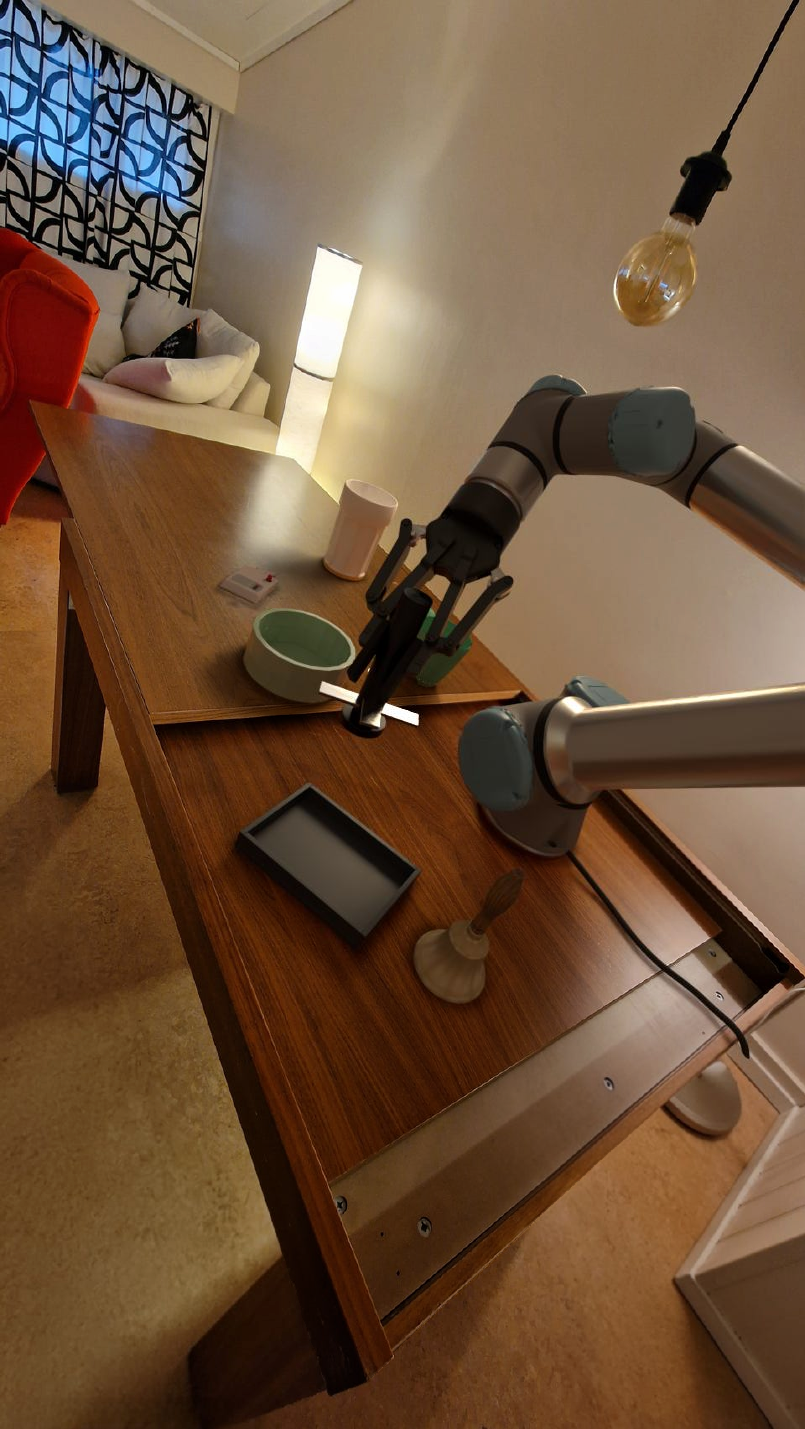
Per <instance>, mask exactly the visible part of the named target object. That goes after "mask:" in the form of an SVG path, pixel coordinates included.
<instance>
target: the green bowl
mask: <svg viewBox="0 0 805 1429" xmlns="http://www.w3.org/2000/svg"><path fill="white" fill-rule="evenodd" d="M355 658H356V647H355V646H354V643H353V641H352V639H351V638H350V637H349V636H348V634H346V633H345V632H344V631H343V630H342V629H341V628H340V627H338V626H337V625H335V624H334V623H333V622H331V621H329V620H327V619H325V618H324V617H321V616H319V615H317V614H314V613H313V612H312V613H311V612H309V611H305V610H302V609H296V608H290V607H274V608H269V609H266V610H263V611H261V612H259V614H257V616H255V617H254V619H253V623H252V625H251V629H250V633H249V636H248V639H247V642H246V647H245V650H244V654H243V657H242V661H243V665H244V667H245V670H246V671H247V673H248V675H249V676H250V677H251V678H252V679H253V681H255V682H256V683H257V684H259V686H261V687H262V688H264V689H265V690H267V691H269V692H271V693H272V694H275V695H276V696H279V697H281V698H284V699H287V700H290V701H295V702H299V703H309V704H311V703H312V704H316V703H317V704H318V703H323V702H327V701H330V700H332V699H331V698H328V697H325V696H322V695H319V694H318V692H319V689H320V685H321V682H322V681H323V682H326V683H328V684H331V685H334V686H337V687H340V688H343V689H344V686H345V683H346V681H347V679H348V674H347V670H348V668H349V667H350V665H351V664H352V663H353V661H354V660H355ZM295 699H296V700H295ZM325 699H329V700H325ZM300 700H301V701H300ZM321 700H324V701H321ZM310 701H318V702H310Z"/></svg>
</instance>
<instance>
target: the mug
mask: <svg viewBox="0 0 805 1429" xmlns="http://www.w3.org/2000/svg"><path fill="white" fill-rule="evenodd" d="M435 615H436V613H435V611H434V610H433V609H432V607H431V608H430V610H429V613H428V615H427V617H426V619H425V621H424V623H423V625H422V627H421V630H420V632H419V634H418V636H417V638H419V639H421V640H422V641H424V639H425V634H427V632H428V630H429V628H430V626H431V623H432V621H433V619H434V617H435ZM456 626H457V624H456V623H454V622H453V621H451V620H449V622H448V624H447V627H446V629H445V631H444V633H443V635H442V637H445V638H447V637H448V635H449V634H450V633H451V632H452V631H453V629H454V628H455V627H456ZM472 646H473V640H472V638H471V636H470V635H469V636H468V638H467V639H466V640H465V641H464V643H463V644H462V645H461V646H460V648H459V649H458V650H457V652H456V653H455V654H454V655H453V656H451V657H447V656H445V655H444V654H440V653H435V654H433V655H431V657H430V658H429V660H428V661H427V663H426V664H425V666H424V667H423V669H422V670H421V672H420V673H419V675H418V676H416V677H415V678H414V679H416V683H417V684H418V685H420V686H423V687H426V688H432V687H435V686H436V685H437V684H438V683H440V682H441V681H442V680H443V679H445V677H446V676H447V675H449V674H450V673H451V672H452V671H453V670H454V669H455V668H456V666H458V664H459V663H460V662H461V661H462V659H464V657H465V656H466V655H467V654H468V653H469V651H470V650H471V648H472ZM419 679H420V680H419ZM423 681H424V682H423ZM425 682H426V683H425ZM429 683H430V684H429ZM435 683H436V684H435Z"/></svg>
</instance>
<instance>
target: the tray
mask: <svg viewBox="0 0 805 1429" xmlns="http://www.w3.org/2000/svg"><path fill="white" fill-rule="evenodd" d="M233 847H234V848H235V849H236V850H237V851H238V852H240V854H241V855H243V856H244V857H245V858H247V860H249V861H250V862H251V863H252V864H254V865H255V866H256V867H257V868H258V869H259V870H261V871H262V872H263V873H264V874H265V875H266V876H268V877H269V878H270V879H271V880H273V882H275V883H276V884H277V885H278V886H279V887H280V888H282V889H283V890H284V891H285V892H287V894H289V895H290V896H291V897H292V898H294V899H295V900H296V901H297V902H298V903H299V904H301V905H302V906H303V907H304V908H306V909H307V910H308V911H309V912H310V913H311V914H312V915H314V916H315V917H316V918H317V919H318V920H320V921H321V922H322V923H323V924H324V925H325V926H326V927H327V928H328V929H330V930H331V931H332V932H333V933H335V934H336V935H337V936H338V937H340V939H342V940H343V941H345V943H346V944H347V945H349V946H350V947H351V948H352V949H354V951H356V952H357V951H359V950H360V949H361V947H362V946H363V945H364V943H366V941H367V940H368V939H369V937H370V936H371V935H372V934H373V933H374V932H375V930H376V929H377V928H378V926H379V925H380V924H381V923H382V922H383V921H384V919H386V917H387V916H388V914H390V912H391V911H392V910H393V909H394V907H395V906H396V905H397V904H398V903H399V902H400V900H401V899H402V898H403V897H404V896H405V894H406V893H407V892H408V891H409V890H410V888H411V887H412V886H413V885H414V884H415V882H416V880H417V879H418V877H419V876H420V874H421V873H422V869H421V868H419V867H418V866H417V865H415V864H414V863H413V862H412V861H411V860H409V859H408V858H407V857H406V856H404V855H403V854H402V853H400V852H399V851H398V850H397V849H396V848H394V847H393V846H392V845H390V844H389V843H388V842H386V840H384V839H383V838H382V837H381V836H379V835H377V833H376V832H374V831H372V830H371V829H370V828H368V827H367V826H366V825H365V824H364V823H362V822H361V821H359V820H358V819H357V818H356V817H355V816H354V815H352V814H351V813H350V812H348V811H347V809H346V810H345V808H343V807H342V806H341V805H340V804H338V803H337V802H336V801H335V800H333V799H332V798H330V797H329V796H328V795H326V794H325V793H324V792H323V791H322V790H321V789H319V788H318V787H316V786H315V785H314V784H313V783H311V781H308V782H307V783H305V784H303V785H302V786H301V787H300V788H298V789H296V790H295V791H294V792H293V793H291V794H290V795H288V796H287V797H286V798H284V799H283V800H282V801H280V802H278V803H277V804H276V805H274V806H273V807H272V808H270V809H269V810H268V811H266V812H265V813H263V814H262V815H260V816H259V817H257V818H256V819H254V820H253V821H252V822H251V823H249V824H248V825H247V826H245V827H244V828H242V829H241V830H239V832H238V835H237V838H236V841H235V843H234V845H233Z"/></svg>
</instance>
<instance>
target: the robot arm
mask: <svg viewBox="0 0 805 1429" xmlns="http://www.w3.org/2000/svg"><path fill="white" fill-rule="evenodd" d="M480 456H481V457H480V458H479V459H478V461H476V463H475V464H474V465H473V467H472V468H471V470H470V471H469V473H468V474H467V476H466V477H465V479H464V481H463V483H462V484H461V485H460V486H459V487H458V489H457V490H456V492H455V493H454V494H453V496H452V497H451V499H450V500H449V502H448V503H447V504H446V506H445V507H444V508H443V510H442V511H441V513H440V514H439V516H438V517H436V518H435V519H434V520H431V521H429V522H428V524H426V525H425V524H424V525H423V524H414V523H413V521H412V520H411V519H410V518H409V517H405V518H403V519H402V520H400V522H399V523H400V524H399V530H398V537H397V539H396V541H395V543H394V544H393V546H392V547H391V549H390V550H389V553H388V554H387V556H386V558H385V559H384V561H383V562H382V564H381V567H380V568H379V570H378V571H377V573H376V575H375V577H374V578H373V580H372V582H371V583H370V585H369V587H368V589H367V590H366V592H365V594H364V596H365V598H364V599H365V604H366V608H367V610H368V611H370V612H371V613H372V614H373V615H372V617H371V618H370V620H369V621H368V622H367V624H365V627H364V628H363V629H362V630H361V632H360V634H359V636H358V640H357V642H358V645H359V647H361V649H360V651H359V652H358V654H357V655H356V656H355V660H354V661H353V663H352V664H351V665H350V667H349V668H348V670H347V674H348V676H347V679H348V681H350V682H352V683H354V684H357V682H358V681H359V679H360V678H361V676H362V675H363V674H364V673H365V671H366V669H368V666H369V665H370V663H372V661H373V660H374V657H375V655H376V653H377V651H378V648H379V646H380V644H381V641H382V639H383V637H384V634H385V632H386V630H387V627H388V625H389V623H390V621H391V618H392V616H393V614H394V611H395V609H396V607H397V604H398V602H399V600H400V597H401V595H402V593H403V591H404V589H405V588H415V589H418V590H422V589H423V587H424V586H425V585H426V584H427V583H428V582H431V581H432V580H433V579H434V578H435V577H436V576H440V577H443V578H445V579H446V580H447V581H448V582H449V585H448V586H447V589H446V591H445V594H444V595H443V597H442V600H441V602H440V604H439V606H438V608H437V611H436V613H435V614H436V615H435V617H434V619H433V621H432V623H431V626H430V628H429V630H428V632H427V634H425V639H424V641H422V640H421V639H419V638H417V637H416V638H415V639H414V641H413V642H412V644H411V645H410V647H409V648H408V649H407V651H406V652H405V654H404V655H403V657H402V658H401V660H400V661H399V663H398V664H397V666H396V667H395V669H394V670H393V672H392V673H391V675H390V676H389V678H388V679H387V681H386V682H385V684H384V685H383V686H382V688H381V689H380V691H379V693H380V699H381V700H383V701H384V702H386V704H388V703H389V701H390V699H391V698H392V697H393V695H394V693H395V692H396V690H397V689H398V687H399V686H400V684H401V683H402V681H403V680H404V679H405V677H406V675H407V676H408V677H410V678H412V679H416V678H415V677H416V676H418V675H419V673H420V672H421V670H422V669H423V667H424V666H425V664H426V663H427V661H428V660H429V658H430V657H431V655H433V654H435V653H440V654H444V655H445V656H447V657H451V656H453V655H454V654H455V653H456V652H457V650H458V649H459V648H460V646H461V645H462V644H463V643H464V641H465V640H466V639H467V638H468V636H470V635H471V634H472V633H473V632H474V630H475V629H476V628H477V627H478V626H479V624H480V623H481V621H482V620H483V619H484V618H485V616H486V615H487V614H488V613H489V611H490V610H491V609H492V608H493V606H494V605H495V604H497V603H498V602H501V601H502V600H504V599H505V598H507V597H508V596H510V594H511V592H512V589H513V585H514V583H515V580H514V578H513V577H512V576H511V575H509V574H508V575H507V574H505V573H504V571H503V570H502V569H501V568H500V564H501V557H502V555H503V553H504V552H505V551H506V549H507V547H508V546H509V544H510V543H511V541H512V540H513V538H514V537H515V535H516V534H517V533H518V531H519V529H520V527H521V524H522V523H523V522H525V520H526V519H527V518H528V515H529V514H530V513H531V511H532V510H533V508H534V506H535V505H536V504H537V502H538V500H539V499H540V497H541V496H542V494H543V493H544V492H545V490H546V489H547V486H548V485H549V484H550V482H551V481H552V480H553V478H554V477H556V476H560V475H561V476H602V477H603V476H604V477H605V476H607V477H615V478H620V479H623V480H627V481H630V482H634V483H638V484H640V485H641V484H642V485H644V486H649V487H651V488H655V489H658V490H660V491H662V492H663V493H666V494H667V495H668V496H669V497H671V498H672V499H673V500H675V501H676V502H678V503H679V504H680V505H683V507H686V508H687V509H689V510H690V511H692V512H694V513H695V514H697V515H698V516H699V517H700V518H702V519H703V520H705V521H706V522H708V523H709V524H711V525H712V526H713V527H714V528H716V529H717V530H718V531H720V532H722V533H723V534H724V535H726V537H729V538H730V539H731V540H732V541H734V542H735V543H737V544H738V545H740V546H741V547H742V548H744V549H745V550H747V551H748V552H749V553H751V554H752V555H754V557H756V558H758V559H759V560H761V561H762V562H763V563H764V564H766V565H767V566H768V567H770V568H771V569H773V570H775V571H776V572H777V573H779V574H780V575H782V576H783V577H784V578H785V579H787V580H788V581H789V582H791V583H793V584H794V585H795V586H797V587H798V588H800V590H803V591H804V592H805V483H804V482H803V481H801V480H800V479H798V478H797V477H794V476H793V475H791V474H790V473H788V472H786V471H785V470H783V469H781V467H778V466H777V465H775V464H773V463H772V462H770V461H768V460H767V459H765V458H763V457H762V456H760V455H758V454H757V453H755V452H753V451H752V450H751V449H748V448H747V447H746V446H742V445H740V444H739V443H737V441H735V440H734V439H732V438H731V437H730V436H727V435H726V434H725V433H724V431H723V430H721V429H720V428H718V427H717V426H715V425H713V424H711V423H709V422H708V421H706V420H700V419H698V418H696V409H695V406H694V404H692V403H691V397H690V394H689V393H688V392H687V391H686V390H685V389H684V388H681V387H677V386H660V387H659V386H658V387H656V386H653V385H644V386H643V385H642V386H641V387H636V388H633V389H624V390H614V391H605V392H595V393H588V392H587V391H586V389H585V388H584V387H583V386H582V384H580V383H579V382H578V381H576V380H575V379H573V378H565V377H563V376H562V375H561V374H548V375H545V376H543V377H540V378H538V379H537V380H536V381H535V382H534V383H533V384H532V386H531V387H530V388H529V389H528V390H527V392H526V393H525V394H524V396H523V397H521V398H519V400H518V401H517V402H516V403H515V405H514V407H513V408H512V411H511V413H510V414H509V416H508V417H507V418H506V420H505V421H504V422H503V423H502V426H501V427H500V429H499V430H498V432H497V433H496V435H495V436H494V437H493V439H492V441H491V442H490V443H489V445H488V446H487V448H486V450H484V452H483V453H482V455H480ZM422 540H425V549H426V550H425V551H426V553H425V554H424V555H423V556H422V557H421V559H420V561H419V562H418V564H417V565H416V566H415V567H414V568H413V569H412V570H411V571H410V573H409V574H407V575H406V577H404V579H403V580H402V581H401V582H400V583H399V584H398V585H397V586H396V587H395V588H394V589H393V590H392V591H391V592H390V593H389V594H388V591H389V590H390V588H391V586H392V584H393V583H394V581H395V579H396V578H397V576H398V574H399V573H400V571H401V569H402V567H403V566H404V564H405V562H406V560H407V558H408V556H409V555H410V551H411V548H416V547H417V546H418V544H419V543H420V541H422ZM487 577H490V578H489V579H488V581H487V583H486V588H485V589H484V590H483V591H482V593H481V594H480V595H479V596H478V598H477V599H476V601H474V603H473V604H472V605H471V607H470V608H469V609H468V610H467V612H466V613H465V614H464V615H463V617H462V618H461V619H460V620H459V622H458V623H457V624H456V625H457V626H456V627H455V628H454V629H453V631H452V632H451V633H450V634H449V635H448V637H447V638H445V637H442V635H443V633H444V631H445V629H446V627H447V624H448V622H449V621H451V618H452V616H453V613H454V611H455V609H456V607H457V604H458V603H459V601H460V598H461V597H462V595H463V593H464V592H465V588H466V586H467V585H468V584H470V583H473V582H476V581H480V580H482V579H484V578H485V579H486V578H487ZM387 594H388V595H387ZM386 595H387V597H386ZM563 687H564V688H563V690H562V691H561V693H560V694H559V695H558V696H556V697H554V698H553V697H552V698H543V699H540V700H539V699H538V700H533V701H527V702H521V703H520V702H519V703H515V704H509V705H502V706H500V705H492V706H489V707H486V709H483V710H480V711H477V712H476V713H474V714H473V715H471V716H470V717H469V718H468V719H467V721H466V722H465V723H464V725H463V728H462V732H461V733H460V734H459V737H458V742H457V762H458V763H457V764H458V768H459V773H460V776H461V778H462V781H463V784H464V785H465V786H466V789H467V790H468V792H470V793H471V795H472V797H473V799H475V801H476V802H477V803H478V807H479V811H480V813H481V815H482V818H483V819H484V821H485V823H486V825H487V826H488V827H489V829H490V830H491V831H492V833H494V834H495V835H496V837H497V838H498V839H500V840H501V841H502V842H503V843H505V845H507V846H508V847H510V848H511V849H513V850H515V851H516V852H518V853H520V854H521V855H523V856H526V857H528V858H531V859H534V860H539V861H545V862H555V861H560V860H562V859H564V858H566V857H567V858H568V859H569V860H570V862H571V863H572V864H573V865H574V866H575V868H576V869H577V871H578V872H579V873H580V874H581V876H582V877H583V878H584V880H585V881H586V882H587V883H588V885H589V886H590V887H591V888H592V890H593V891H594V892H595V893H596V895H597V896H598V897H599V899H600V901H602V902H603V904H604V905H605V906H606V908H607V909H608V910H609V912H610V913H611V914H612V916H613V917H614V919H615V920H616V921H617V923H618V924H619V926H620V927H621V928H622V930H623V931H624V932H625V933H626V935H627V936H628V937H629V939H630V940H631V941H632V942H633V943H634V944H635V946H636V947H637V948H638V949H639V950H640V951H641V952H642V953H643V954H644V955H645V956H646V957H647V959H649V960H650V961H651V962H652V963H653V964H654V965H655V966H656V967H658V968H659V969H660V970H661V971H662V972H664V974H666V975H667V976H668V977H670V978H671V979H673V980H674V982H677V984H679V985H680V986H681V987H683V988H684V989H686V990H687V991H688V992H689V993H690V994H692V995H693V996H694V997H695V998H696V999H697V1000H698V1001H700V1002H701V1003H702V1005H704V1006H705V1007H706V1009H708V1010H709V1011H710V1012H711V1013H712V1014H714V1016H715V1017H717V1018H718V1019H719V1020H720V1021H721V1022H723V1024H725V1025H726V1026H727V1027H728V1028H729V1030H730V1031H731V1032H732V1033H733V1034H734V1035H735V1037H736V1039H737V1041H738V1043H739V1046H740V1050H741V1054H742V1055H743V1056H744V1058H745V1059H747V1060H750V1058H751V1052H750V1048H749V1047H750V1046H749V1044H748V1041H747V1039H746V1037H745V1035H744V1033H743V1031H742V1030H741V1029H740V1027H739V1026H738V1025H737V1024H736V1023H735V1022H734V1021H733V1020H732V1019H731V1018H730V1017H729V1016H728V1015H727V1014H725V1013H724V1012H723V1011H722V1010H721V1009H719V1008H718V1007H717V1006H716V1004H714V1003H713V1002H712V1001H711V1000H710V999H709V998H707V997H706V996H705V995H704V994H703V993H702V991H700V990H699V989H697V988H696V986H694V985H693V984H692V983H690V982H689V981H687V979H685V978H684V977H682V976H681V975H680V974H678V973H677V972H676V971H674V970H673V969H672V968H671V967H670V966H668V965H666V964H665V963H664V962H663V961H662V960H661V959H660V958H659V957H658V956H657V955H656V954H654V953H653V952H652V951H651V950H650V949H649V947H647V945H646V944H644V942H643V941H642V939H640V938H639V937H638V935H637V934H636V932H635V931H634V930H633V929H632V928H631V927H630V925H629V924H628V923H627V921H626V920H625V919H624V917H623V916H622V914H621V913H620V912H619V910H618V909H617V907H615V905H614V903H612V901H611V899H610V898H609V897H608V896H607V895H606V893H605V892H604V891H603V889H601V887H600V886H599V885H598V883H597V882H596V881H595V880H594V878H593V877H592V876H591V874H590V873H589V872H588V871H587V869H586V868H585V866H583V864H582V863H581V862H580V861H579V860H578V858H577V857H576V855H574V853H573V852H572V850H573V849H574V848H575V846H576V845H577V842H578V840H579V837H580V834H581V831H582V828H583V825H584V821H585V818H586V815H587V812H588V809H589V808H590V806H591V805H592V804H593V803H594V801H595V800H596V799H597V798H598V796H599V795H600V794H601V793H602V792H603V791H604V790H666V789H667V790H668V789H669V790H672V789H675V790H676V789H677V790H678V789H679V790H680V789H682V790H683V789H685V790H686V789H751V788H753V789H754V788H757V789H758V788H759V789H760V788H761V789H762V788H763V789H764V788H765V789H766V788H805V681H801V682H793V683H785V684H777V685H776V684H775V685H769V686H761V687H753V688H745V689H737V690H729V691H728V690H727V691H720V692H713V693H704V694H703V693H702V694H696V695H686V696H679V697H673V698H672V697H671V698H670V697H669V698H663V699H654V700H649V701H648V700H647V701H639V702H630V701H629V700H628V699H627V698H626V697H625V696H624V695H623V694H621V693H619V692H618V691H617V690H615V689H614V688H612V687H611V686H609V685H608V684H606V683H604V682H602V681H600V680H598V679H596V678H595V677H594V678H593V677H591V676H588V675H575V676H573V677H572V678H571V679H570V680H569V681H568V682H567V683H565V685H564V686H563Z"/></svg>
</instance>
